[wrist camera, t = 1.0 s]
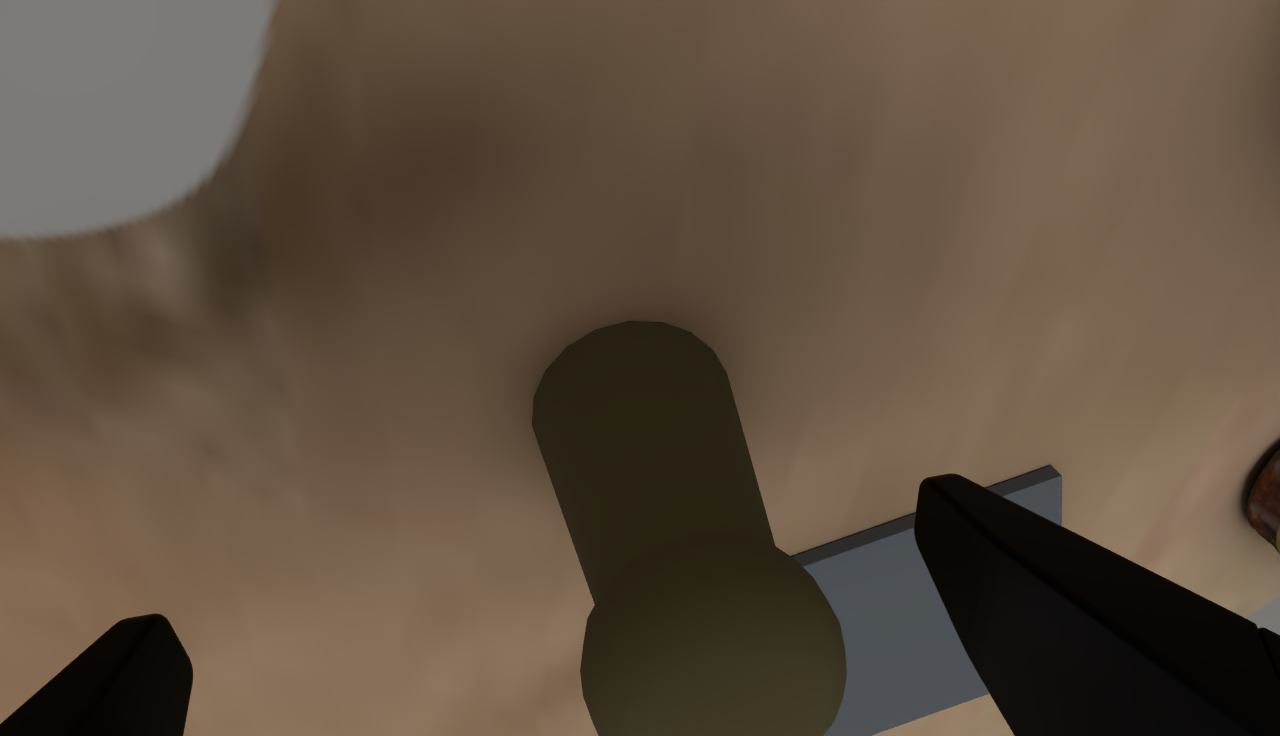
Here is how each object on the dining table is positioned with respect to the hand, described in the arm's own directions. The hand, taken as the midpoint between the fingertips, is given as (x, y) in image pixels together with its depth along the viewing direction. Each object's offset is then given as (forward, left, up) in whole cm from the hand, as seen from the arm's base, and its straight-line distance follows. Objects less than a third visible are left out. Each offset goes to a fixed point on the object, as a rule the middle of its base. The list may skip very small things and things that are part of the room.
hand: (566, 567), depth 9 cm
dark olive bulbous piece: (-2, +6, -13) cm, 14 cm away
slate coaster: (-12, +18, -12) cm, 25 cm away
